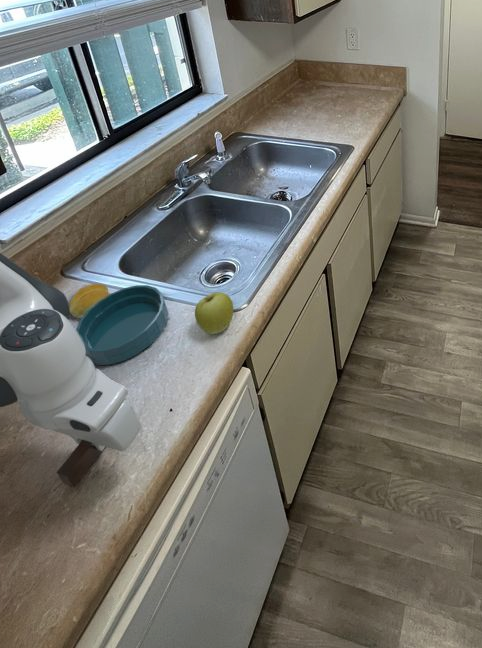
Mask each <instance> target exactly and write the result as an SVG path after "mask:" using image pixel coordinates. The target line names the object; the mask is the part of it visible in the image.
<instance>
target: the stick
mask: <svg viewBox="0 0 482 648" xmlns="http://www.w3.org/2000/svg"><path fill="white" fill-rule="evenodd" d="M91 444H92V442H88V441H85V440H82V441H81V442H80V444H77V446H76V447H75V448H74V450H73V451H72V452H71V454H70V455H69V456H68V457H67V459H65V461H64V462H63V463H62V465H61V466H60V467H59V469H58V470H57V471H56V474H57V476H58V477H59V479H60V481H61V482H62V484H63V485H65V486H68V487H72V488H75V487H76V486H77V485H78V483H79V482H80V481H81V480H82V478H83V477H84V475H85V474H86V473H87V471H88V470H89V469H90V468H91V466H92V465H93V464H94V462H95V461H96V460H97V458H98V457H99V456H100V454H101V453H102V451H99V450H96V449H94V447H93V446H92V445H91Z"/></svg>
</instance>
